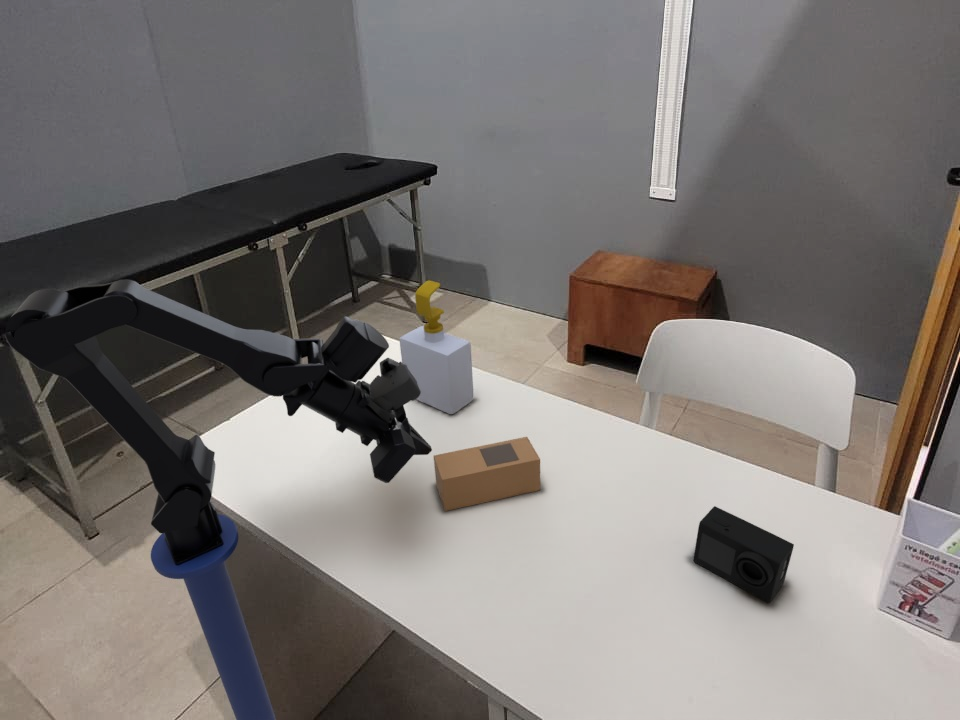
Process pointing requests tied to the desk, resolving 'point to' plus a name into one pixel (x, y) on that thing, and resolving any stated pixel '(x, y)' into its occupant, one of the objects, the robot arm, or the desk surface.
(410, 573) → the desk surface
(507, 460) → the carton
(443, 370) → the soap bottle
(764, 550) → the digital camera
